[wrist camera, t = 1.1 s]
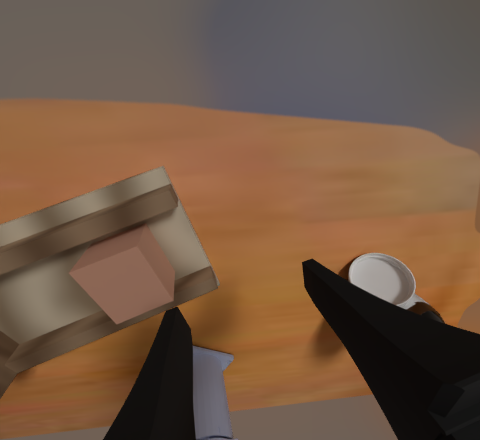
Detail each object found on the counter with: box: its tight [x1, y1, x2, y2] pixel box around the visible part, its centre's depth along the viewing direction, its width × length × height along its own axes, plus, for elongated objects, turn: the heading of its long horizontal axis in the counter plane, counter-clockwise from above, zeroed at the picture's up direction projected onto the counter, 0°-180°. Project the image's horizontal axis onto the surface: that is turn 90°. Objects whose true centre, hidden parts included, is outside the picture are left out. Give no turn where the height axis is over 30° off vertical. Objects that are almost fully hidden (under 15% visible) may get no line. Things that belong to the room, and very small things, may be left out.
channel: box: [0, 166, 220, 398], centre depth 18 cm, size 22×14×5 cm, turn 108°
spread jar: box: [348, 253, 445, 324], centre depth 26 cm, size 12×11×12 cm
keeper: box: [69, 223, 175, 324], centre depth 18 cm, size 5×6×4 cm
